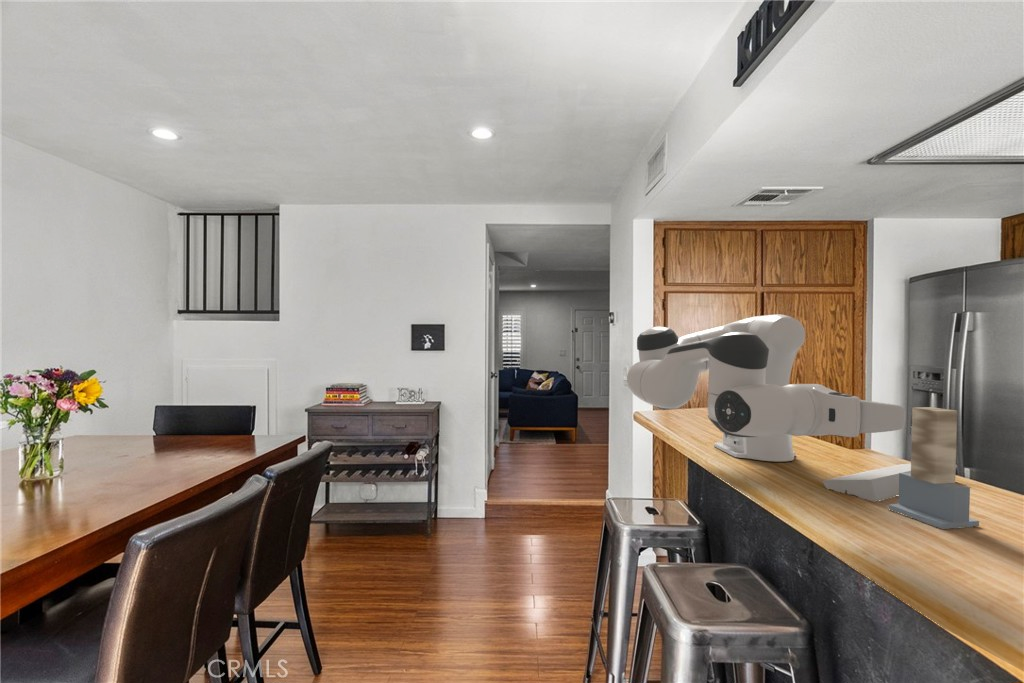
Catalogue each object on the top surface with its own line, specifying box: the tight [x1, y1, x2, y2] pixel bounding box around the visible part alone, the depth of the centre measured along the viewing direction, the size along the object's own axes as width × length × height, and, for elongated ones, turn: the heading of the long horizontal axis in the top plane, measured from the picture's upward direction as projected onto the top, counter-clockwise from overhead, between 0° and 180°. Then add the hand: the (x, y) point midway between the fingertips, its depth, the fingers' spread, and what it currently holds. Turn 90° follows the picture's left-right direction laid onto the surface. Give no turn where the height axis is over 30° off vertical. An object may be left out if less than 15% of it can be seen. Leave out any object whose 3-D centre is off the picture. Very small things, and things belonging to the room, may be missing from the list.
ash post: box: [910, 406, 958, 484], centre depth 94 cm, size 4×4×13 cm
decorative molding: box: [822, 463, 911, 502], centre depth 115 cm, size 34×5×10 cm
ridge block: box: [888, 472, 980, 530], centre depth 94 cm, size 10×8×7 cm
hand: (875, 407), depth 91 cm, fingers open, 8 cm apart
